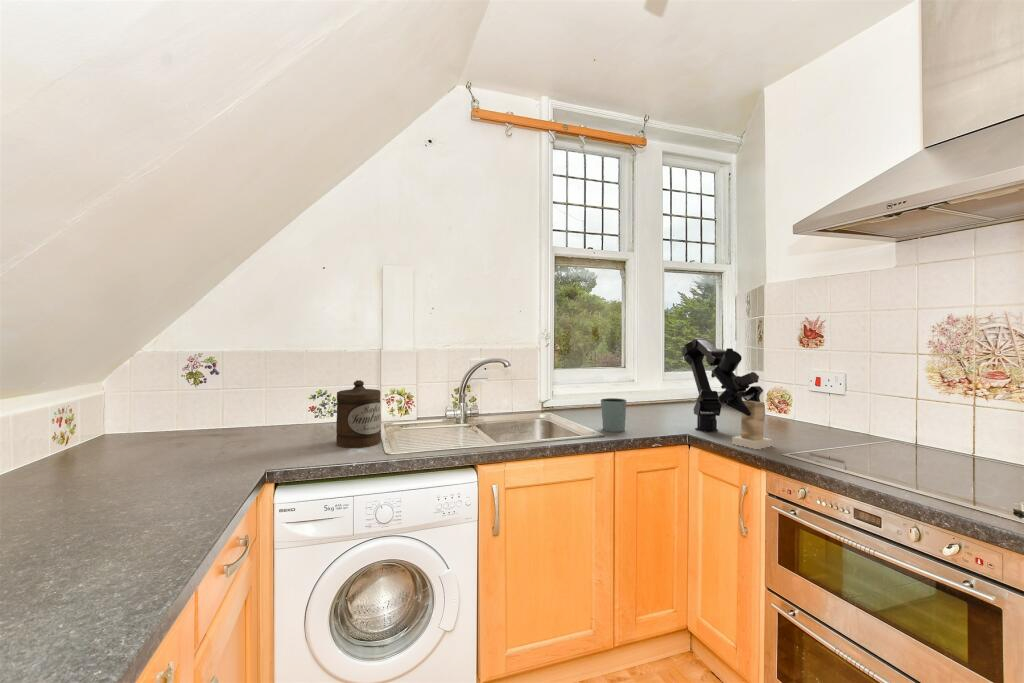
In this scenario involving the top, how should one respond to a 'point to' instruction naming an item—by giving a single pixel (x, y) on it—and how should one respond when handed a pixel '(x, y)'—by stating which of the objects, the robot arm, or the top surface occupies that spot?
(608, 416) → the grey green cup
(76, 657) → the top surface
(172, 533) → the top surface
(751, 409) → the oak block
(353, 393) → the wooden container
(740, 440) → the cream base block
